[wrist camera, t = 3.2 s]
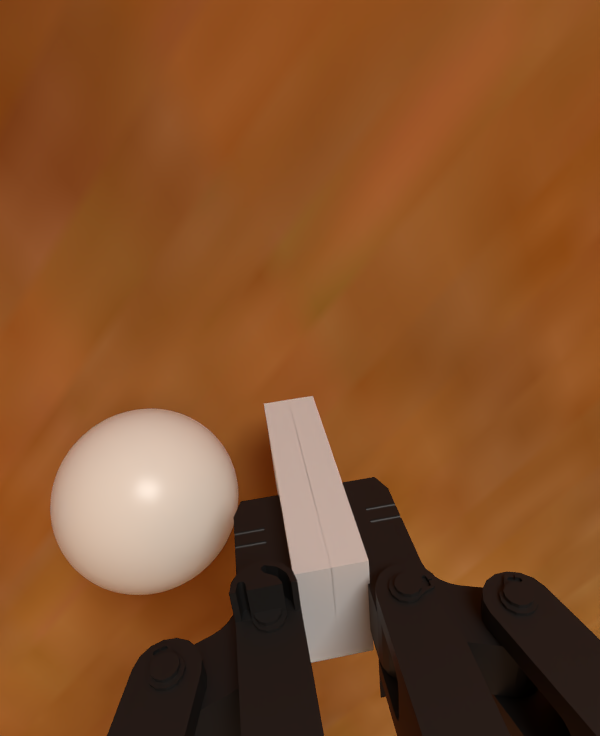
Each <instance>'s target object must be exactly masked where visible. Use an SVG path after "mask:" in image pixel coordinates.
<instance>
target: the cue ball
mask: <svg viewBox="0 0 600 736" xmlns="http://www.w3.org/2000/svg"><path fill="white" fill-rule="evenodd" d="M238 496H239V494H238V483H237V477H236V473H235V469H234V466H233V464H232V461H231V459H230V457H229V454H228V453H227V451H226V449H225V448H224V446H223V445H222V444H221V442H220V441H219V440H218V439H217V437H216V436H215V435H214V434H213V433H212V432H211V431H210V430H209V429H207V428H206V427H205V426H203V425H202V424H200V423H199V422H197V421H196V420H194V419H192V418H190V417H188V416H185V415H183V414H181V413H177V412H174V411H170V410H163V409H138V410H132V411H128V412H124V413H121V414H118V415H115V416H112V417H110V418H108V419H106V420H104V421H102V422H101V423H99V424H97V425H96V426H94V427H93V428H91V429H90V430H89V431H88V432H86V433H85V434H84V435H83V436H82V437H81V438H80V439H79V440H78V441H77V442H76V443H75V444H74V445H73V447H72V448H71V449H70V451H69V452H68V453H67V455H66V456H65V458H64V460H63V461H62V463H61V465H60V467H59V470H58V472H57V474H56V478H55V481H54V484H53V488H52V494H51V504H50V513H51V522H52V528H53V532H54V535H55V538H56V541H57V543H58V545H59V548H60V550H61V551H62V553H63V554H64V556H65V557H66V559H67V560H68V562H69V563H70V564H71V565H72V567H73V568H74V569H75V570H76V571H77V572H79V573H80V574H81V575H82V576H83V577H85V578H86V579H87V580H89V581H90V582H92V583H94V584H96V585H97V586H99V587H102V588H104V589H107V590H109V591H113V592H117V593H122V594H130V595H147V594H155V593H160V592H164V591H167V590H171V589H173V588H175V587H178V586H180V585H182V584H184V583H186V582H188V581H189V580H191V579H193V578H194V577H195V576H197V575H198V574H200V573H201V572H202V571H203V570H204V569H205V568H206V567H207V566H209V565H210V564H211V563H212V561H213V560H214V559H215V558H216V557H217V555H218V554H219V553H220V551H221V550H222V548H223V547H224V545H225V544H226V542H227V540H228V538H229V535H230V533H231V531H232V529H233V526H234V515H235V513H236V511H237V509H238Z"/></svg>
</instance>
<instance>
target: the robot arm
mask: <svg viewBox="0 0 600 736" xmlns="http://www.w3.org/2000/svg"><path fill="white" fill-rule="evenodd" d="M264 407H265V414H266V420H267V427H268V434H269V440H270V447H271V454H272V460H273V467H274V474H275V480H276V486H277V492H278V495H276V496H271V497H265V498H259V499H253V500H248V501H242V502H241V503H240V505H239V507H238V509H237V511H236V513H235V515H234V534H235V555H236V577H235V578H234V579H233V581H232V582H231V586H230V592H229V596H230V600H231V605H232V609H233V613H234V614H233V616H232V617H231V619H230V620H229V622H228V623H227V624H226V625H225V626H224V627H223V628H222V629H221V630H219V631H218V632H216V633H215V634H213V635H212V636H210V637H208V638H206V639H204V640H202V641H200V642H198V643H196V644H195V645H193V644H192V643H191V642H190V641H188V640H183V639H179V638H174V639H168V640H163V641H161V642H159V643H157V644H155V645H153V646H151V647H150V648H149V649H148V650H147V651H146V652H144V653H143V654H142V655H141V656H140V657H139V659H138V661H137V662H136V664H135V666H134V668H133V669H132V672H131V674H130V677H129V679H128V682H127V685H126V687H125V690H124V693H123V695H122V698H121V701H120V703H119V706H118V708H117V711H116V714H115V716H114V719H113V722H112V724H111V727H110V729H109V732H108V735H107V736H324V733H323V728H322V722H321V716H320V711H319V705H318V700H317V694H316V688H315V683H314V677H313V672H312V666H311V663H312V662H317V661H322V660H327V659H332V658H336V657H341V656H346V655H351V654H356V653H361V652H366V651H371V650H373V640H374V644H375V647H376V651H377V654H378V657H379V675H380V692H381V697H386V698H387V702H388V705H389V709H390V712H391V716H392V719H393V723H394V726H395V729H396V733H397V736H600V640H599V639H598V638H597V637H596V636H595V635H594V634H593V633H592V632H591V631H590V630H589V629H588V628H587V627H586V626H585V625H584V624H583V623H582V622H581V621H580V620H579V619H578V618H577V617H576V616H575V615H574V614H573V613H572V612H571V611H570V610H569V609H568V608H567V607H566V606H565V605H564V604H562V603H561V602H560V601H559V600H558V599H557V598H556V597H555V596H554V595H553V594H552V593H551V592H550V591H549V590H548V589H547V588H546V587H545V586H544V585H542V584H541V583H540V582H538V581H537V580H536V579H534V578H532V577H530V576H527V575H524V574H522V573H516V572H503V573H499V574H495V575H493V576H492V577H491V578H489V579H488V580H487V581H486V583H485V585H484V587H483V588H481V587H470V586H460V585H455V584H450V583H447V582H445V581H442V580H440V579H438V578H437V577H435V576H434V575H433V574H432V573H431V572H429V571H428V570H427V569H426V568H425V567H424V565H423V564H422V562H421V560H420V558H419V556H418V554H417V552H416V549H415V547H414V545H413V543H412V541H411V538H410V536H409V534H408V532H407V530H406V527H405V525H404V523H403V521H402V519H401V518H400V514H399V512H398V510H397V507H396V506H395V503H394V501H393V499H392V496H391V494H390V492H389V490H388V488H387V487H386V486H384V485H383V484H382V483H381V482H380V481H378V480H377V479H376V478H375V477H372V478H366V479H360V480H355V481H349V482H343V483H342V481H341V478H340V475H339V472H338V469H337V466H336V463H335V460H334V457H333V454H332V451H331V448H330V445H329V442H328V440H327V437H326V434H325V431H324V428H323V425H322V422H321V419H320V416H319V413H318V410H317V407H316V404H315V401H314V398H313V396H310V397H303V398H297V399H291V400H285V401H278V402H272V403H266V404H264Z"/></svg>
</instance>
